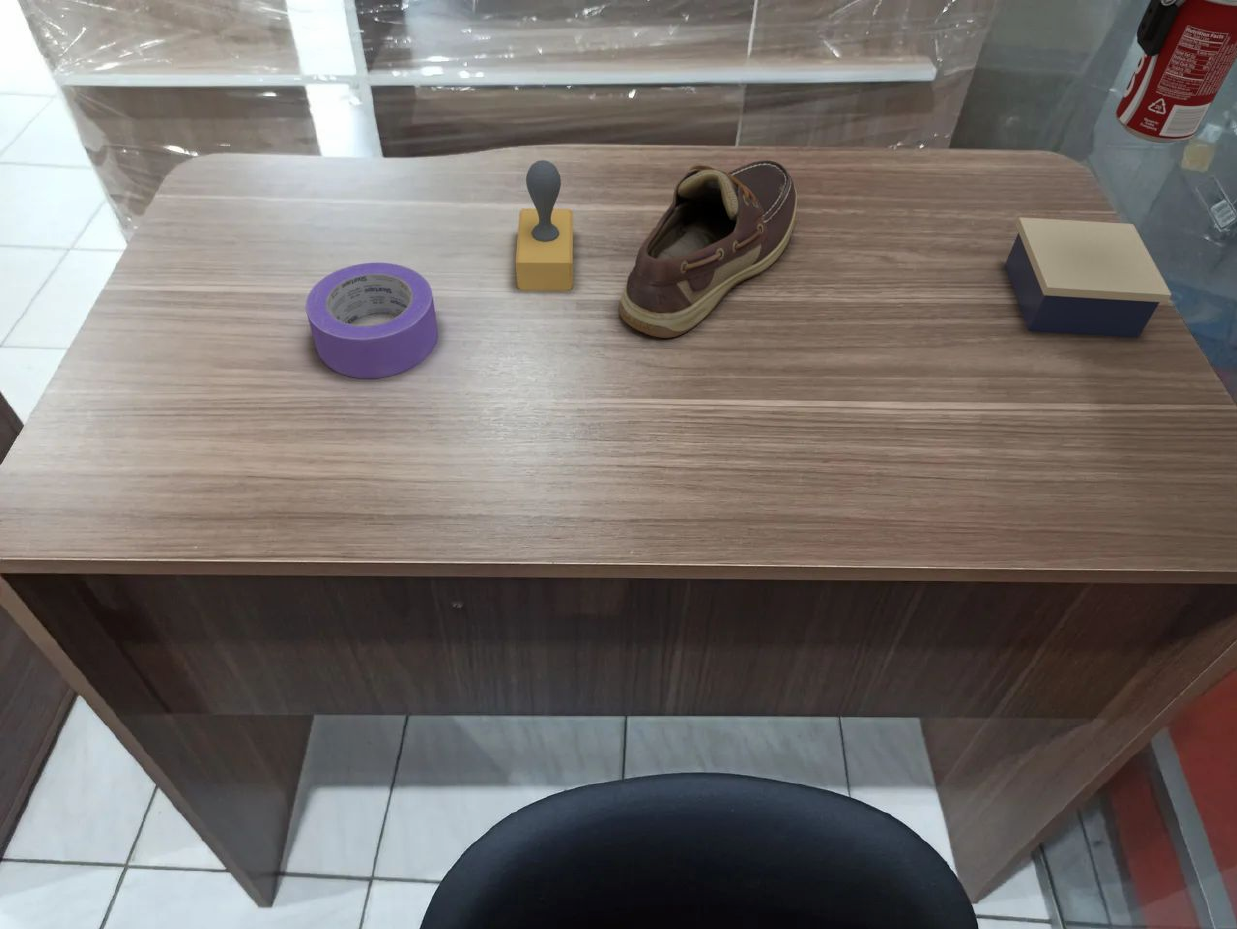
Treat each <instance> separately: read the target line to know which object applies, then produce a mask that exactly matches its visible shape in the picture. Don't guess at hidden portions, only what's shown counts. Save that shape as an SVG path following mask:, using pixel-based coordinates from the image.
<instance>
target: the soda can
mask: <svg viewBox="0 0 1237 929" xmlns="http://www.w3.org/2000/svg"><path fill="white" fill-rule="evenodd" d="M1175 4H1176V5H1177V6H1178V8H1179V11H1178V13H1177V15H1176V17H1175V20H1174V22H1173V24H1172V26H1171V28H1170V30H1169V32H1168V34H1167V36H1166V38H1165V41H1164V43H1163V45H1162V47H1161V49H1160V51H1159V53H1158V54H1157V55H1155V56H1147V55H1146V54H1145V52H1144V51H1143V52H1142V54H1141V56H1140V58H1139V61H1138V63H1137V65H1136V67H1135V70H1134V72H1133V74H1132V75H1131V78H1130V80H1129V82H1128V84H1127V87H1126V89H1125V91H1124V93H1123V95H1122V98H1121V100H1120V101H1119V104H1118V106H1117V108H1116V110H1115V119H1116V121H1117V122H1118V123H1119V124H1120V126H1122V127H1123V129H1124V130H1125V131H1126V132H1127V133H1129V134H1130V135H1132V136H1134V137H1136V138H1138V139H1140V140H1143V141H1146V142H1151V143H1155V144H1171V143H1172V144H1173V143H1175V142H1176V143H1177V142H1183V141H1186V140H1189V139H1191V138H1193V136H1195V135H1196V133H1197V131H1198V130H1199V127H1200V126H1201V124H1202V122H1203V120H1204V118H1205V117H1206V114H1207V113H1208V111H1209V109H1210V107H1211V105H1212V104H1213V102H1214V100H1215V99H1216V96H1217V94H1218V93H1219V91H1220V89H1221V87H1222V85H1223V83H1224V81H1225V80H1226V78H1227V76H1228V74H1229V72H1230V71H1231V68H1232V66H1233V65H1234V63H1235V62H1236V60H1237V0H1176V2H1175Z"/></svg>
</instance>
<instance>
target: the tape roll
mask: <svg viewBox="0 0 1237 929" xmlns="http://www.w3.org/2000/svg"><path fill="white" fill-rule="evenodd" d="M433 296H434V294H433V290H432V287H431V285H430V283H429V281H428V280H427V279H426V277H424V276H423V275H422V274H421V273H419V272H417V271H415V270H414V269H412V268H410V267H407V266H404V265H401V264H397V263H390V262H365V263H364V262H363V263H358V264H354V265H349V266H346V267H344V268H340V269H338V270H335V271H333V272H331V273H330V274H327V275H326V276H324V277H323V278H322V279H320V280H319V281H318V282H317V283H316V284H315V285H314V286H313V287H312V288H311V290H310V291H309V293H308V295H307V298H306V301H305V313H306V316H307V319H308V322H309V327H310V329H311V333H312V336H313V337H312V338H313V341H314V344H315V348H316V351H317V355H318V357H319V358H320V360H321V361H322V362H323V363H324V365H326V367H328V368H330V369H331V370H332V371H334V372H336V373H338V374H340V375H343V376H346V377H351V378H354V379H355V378H356V379H366V380H367V379H383V378H387V377H392V376H396V375H399V374H402V373H404V372H407V371H409V370H411V369H414V368H415V367H416V366H418V365H419V364H421V363H422V362H424V361H425V360H426V359H427V358H428V357H429V356H430V355H431V353H433V351H434V348H435V347H436V345H437V343H438V338H439V331H438V329H439V328H438V324H437V317H436V311H435V302H434V297H433ZM377 314H389V315H396V316H395V317H393V318H392V319H388V320H386V321H383V322H380V323H375V324H374V323H373V324H365V325H363V324H353V323H352V322H354V321H355V320H358V319H360V318H363V317H366V316H370V315H377Z"/></svg>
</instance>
